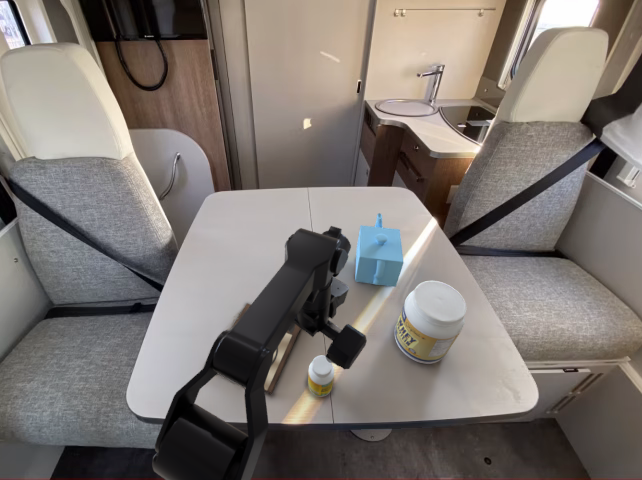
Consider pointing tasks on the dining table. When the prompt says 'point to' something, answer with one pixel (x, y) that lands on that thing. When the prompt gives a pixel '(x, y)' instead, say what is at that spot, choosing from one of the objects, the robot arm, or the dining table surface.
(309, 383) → the supplement bottle
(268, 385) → the drawing board
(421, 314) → the supplement tub
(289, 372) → the dining table surface
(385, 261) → the teapot
